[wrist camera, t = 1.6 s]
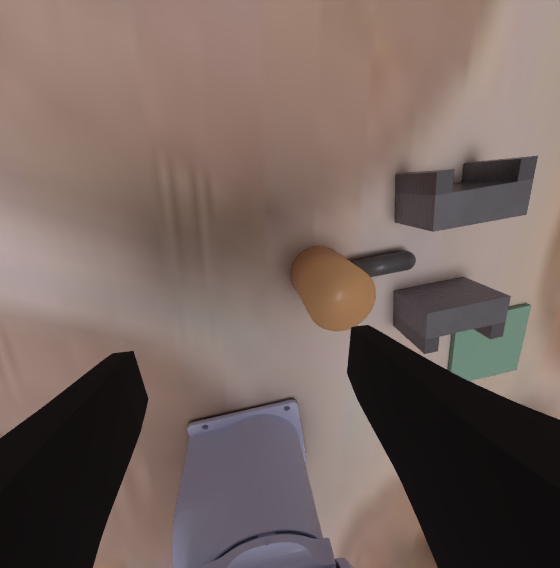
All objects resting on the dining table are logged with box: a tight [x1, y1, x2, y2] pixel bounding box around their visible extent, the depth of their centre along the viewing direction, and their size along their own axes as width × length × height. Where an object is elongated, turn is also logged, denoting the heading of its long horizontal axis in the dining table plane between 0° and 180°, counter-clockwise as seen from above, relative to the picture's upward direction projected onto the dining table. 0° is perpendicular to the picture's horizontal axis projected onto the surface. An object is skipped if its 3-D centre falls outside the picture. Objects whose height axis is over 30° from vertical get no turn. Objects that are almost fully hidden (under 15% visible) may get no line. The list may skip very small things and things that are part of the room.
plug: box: [291, 246, 416, 331], centre depth 17 cm, size 9×4×5 cm, turn 98°
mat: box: [448, 303, 531, 381], centre depth 24 cm, size 7×7×1 cm
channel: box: [393, 156, 538, 354], centre depth 18 cm, size 6×12×4 cm, turn 8°
